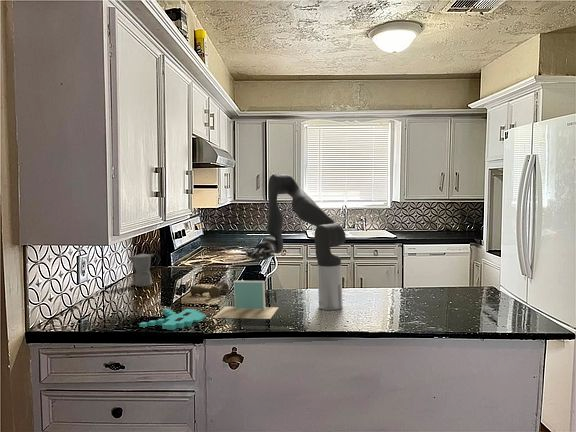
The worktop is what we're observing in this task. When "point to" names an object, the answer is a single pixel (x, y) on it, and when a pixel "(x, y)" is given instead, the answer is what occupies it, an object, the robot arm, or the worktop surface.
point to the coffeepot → (143, 268)
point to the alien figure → (176, 319)
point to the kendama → (210, 290)
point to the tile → (249, 295)
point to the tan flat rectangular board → (246, 313)
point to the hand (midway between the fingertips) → (254, 256)
